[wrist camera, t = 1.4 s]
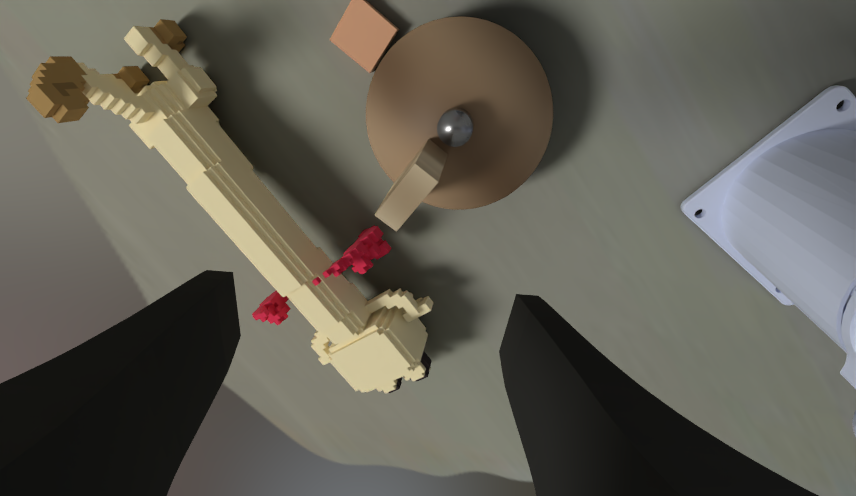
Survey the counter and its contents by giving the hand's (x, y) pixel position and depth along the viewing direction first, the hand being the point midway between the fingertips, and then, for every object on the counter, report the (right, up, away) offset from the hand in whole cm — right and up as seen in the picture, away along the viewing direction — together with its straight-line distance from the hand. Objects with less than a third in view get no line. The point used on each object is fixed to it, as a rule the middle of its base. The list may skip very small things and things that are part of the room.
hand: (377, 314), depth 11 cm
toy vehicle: (-7, +3, +16) cm, 17 cm away
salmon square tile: (-2, +12, +9) cm, 15 cm away
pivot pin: (+3, +7, +8) cm, 11 cm away
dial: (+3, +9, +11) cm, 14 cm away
